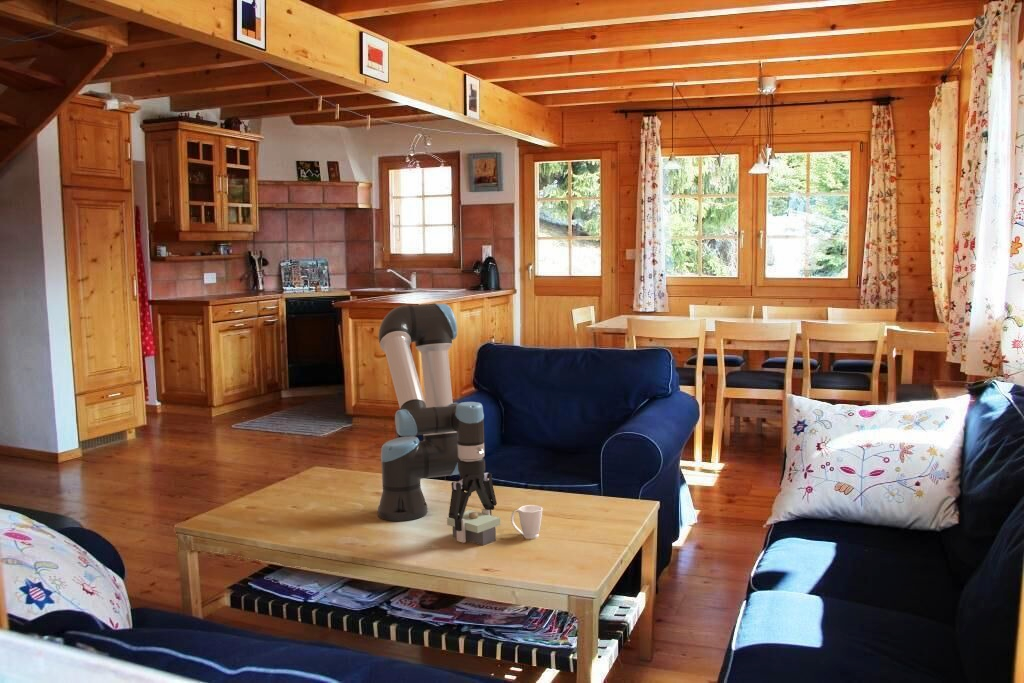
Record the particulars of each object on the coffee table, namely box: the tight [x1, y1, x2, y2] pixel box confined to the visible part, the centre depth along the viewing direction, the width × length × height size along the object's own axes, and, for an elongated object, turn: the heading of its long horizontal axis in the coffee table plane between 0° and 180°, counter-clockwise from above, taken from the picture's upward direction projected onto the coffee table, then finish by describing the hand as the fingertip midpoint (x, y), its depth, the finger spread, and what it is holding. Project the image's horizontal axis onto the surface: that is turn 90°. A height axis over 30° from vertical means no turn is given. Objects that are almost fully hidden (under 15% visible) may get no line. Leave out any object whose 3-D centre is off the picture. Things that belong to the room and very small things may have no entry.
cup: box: [510, 504, 544, 540], centre depth 245 cm, size 7×10×8 cm
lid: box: [446, 509, 501, 533], centre depth 243 cm, size 12×9×3 cm
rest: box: [452, 526, 497, 546], centre depth 244 cm, size 12×5×4 cm, turn 48°
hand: (474, 536), depth 244 cm, fingers open, 9 cm apart
